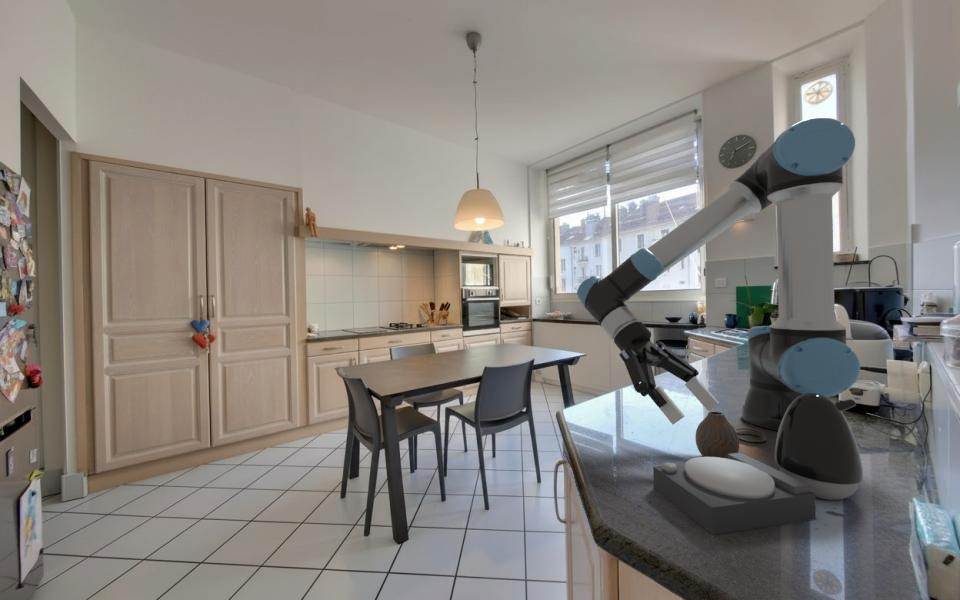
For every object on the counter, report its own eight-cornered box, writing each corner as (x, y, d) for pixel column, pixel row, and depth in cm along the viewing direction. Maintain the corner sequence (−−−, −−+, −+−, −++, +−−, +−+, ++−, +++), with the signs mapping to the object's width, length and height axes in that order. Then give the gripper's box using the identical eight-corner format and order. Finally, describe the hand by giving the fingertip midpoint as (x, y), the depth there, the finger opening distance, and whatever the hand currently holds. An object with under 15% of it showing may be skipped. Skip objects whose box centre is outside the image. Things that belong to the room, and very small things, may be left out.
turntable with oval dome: (740, 478, 62) (739, 451, 62) (815, 519, 50) (814, 486, 50) (653, 488, 60) (653, 460, 60) (712, 534, 48) (711, 499, 48)
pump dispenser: (886, 512, 52) (883, 403, 52) (800, 506, 54) (797, 401, 54) (832, 477, 62) (830, 386, 62) (762, 473, 64) (759, 385, 64)
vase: (745, 470, 65) (743, 420, 65) (700, 465, 67) (698, 417, 67) (733, 454, 71) (732, 409, 71) (692, 450, 74) (691, 406, 74)
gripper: (647, 337, 93) (712, 411, 81) (580, 346, 79) (647, 437, 67) (667, 317, 89) (740, 392, 76) (600, 322, 75) (676, 415, 62)
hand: (697, 413), depth 71 cm, fingers open, 13 cm apart
